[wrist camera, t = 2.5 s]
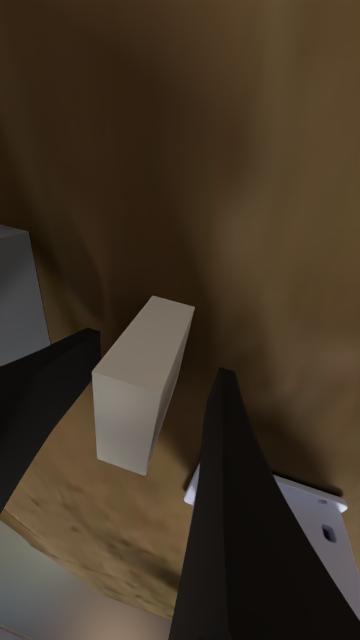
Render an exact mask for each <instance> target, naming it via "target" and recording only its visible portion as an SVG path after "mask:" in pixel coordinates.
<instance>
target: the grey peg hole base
mask: <svg viewBox="0 0 360 640" xmlns="http://www.w3.org/2000/svg"><path fill="white" fill-rule="evenodd" d="M47 346H50V340H49V335H48V329H47V324H46V319H45V314H44V309H43V304H42V299H41V293H40V288H39V283H38V278H37V273H36V268H35V263H34V257H33V252H32V247H31V242H30V237H29V232H28V231H24V230H20V229H16V228H12V227H9V226H5V225H1V224H0V366H3V365H5V364H8V363H10V362H13V361H15V360H17V359H20V358H22V357H25V356H27V355H29V354H32V353H34V352H36V351H39V350H41V349H43V348H45V347H47ZM61 419H62V418H61ZM58 423H59V422H58Z"/></svg>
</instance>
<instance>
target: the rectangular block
mask: <svg viewBox="0 0 360 640" xmlns="http://www.w3.org/2000/svg"><path fill="white" fill-rule="evenodd" d="M194 309H195V307H193V306H189V305H186V304H182V303H178V302H175V301H171V300H167V299H164V298H160V297H156V296H152V297H151V298H150V300H149V301H148V302H147V303H146V305H145V306H144V307H143V308H142V310H141V311H140V312H139V313H138V315H137V316H136V317H135V318H134V320H133V321H132V322H131V323H130V325H129V326H128V327H127V328H126V330H125V331H124V332H123V333H122V335H121V336H120V337H119V338H118V340H117V341H116V342H115V343H114V345H113V346H112V347H111V348H110V349H109V351H108V352H107V353H106V354H105V356H104V357H103V358H102V359H101V361H100V362H99V363H98V364H97V366H96V367H95V368H94V369H93V371H92V382H93V397H94V412H95V427H96V443H97V458H98V459H99V460H102V461H105V462H108V463H110V464H113V465H116V466H119V467H121V468H124V469H127V470H130V471H132V472H135V473H138V474H141V475H143V476H145V475H146V472H147V469H148V466H149V463H150V460H151V457H152V454H153V451H154V448H155V445H156V442H157V439H158V436H159V433H160V430H161V427H162V424H163V421H164V418H165V415H166V412H167V409H168V406H169V403H170V400H171V397H172V394H173V391H174V388H175V385H176V382H177V378H178V374H179V370H180V366H181V362H182V358H183V354H184V350H185V346H186V342H187V338H188V333H189V329H190V325H191V321H192V317H193V313H194Z"/></svg>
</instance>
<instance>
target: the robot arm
mask: <svg viewBox="0 0 360 640" xmlns="http://www.w3.org/2000/svg"><path fill="white" fill-rule="evenodd" d="M100 361H101V351H100V331H97V330H94V329H90V328H86V329H84V330H81V331H79V332H77V333H75V334H73V335H71V336H69V337H67V338H64V339H62V340H60V341H58V342H56V343H54V344H52V345H50V346H47V347H45V348H43V349H41V350H39V351H36V352H34V353H32V354H29V355H27V356H25V357H22V358H20V359H17V360H15V361H13V362H10V363H8V364H5V365H3V366H0V514H1V512H2V510H3V508H4V507H5V505H6V503H7V502H8V500H9V498H10V497H11V495H12V493H13V491H14V490H15V488H16V486H17V485H18V483H19V481H20V480H21V478H22V477H23V475H24V473H25V472H26V470H27V468H28V467H29V465H30V464H31V462H32V460H33V459H34V457H35V456H36V454H37V453H38V451H39V450H40V448H41V447H42V445H43V443H44V442H45V440H46V439H47V437H48V436H49V434H50V433H51V432H52V430H53V429H54V428H55V426H56V425H57V424H58V422H59V421H60V420H61V418H62V417H63V416H64V415H65V413H66V412H67V411H68V410H69V408H70V407H71V406H72V405H73V403H74V402H75V401H76V399H77V398H78V397H79V396H80V394H81V393H82V392H83V391H84V389H85V388H86V387H87V385H88V384H89V383H90V381H91V380H92V371H93V369H94V368H95V367H96V366H97V364H98V363H99V362H100ZM184 501H185V502H187V503H189V504H192V505H193V510H192V517H191V523H190V530H189V536H188V542H187V547H186V553H185V558H184V563H183V568H182V574H181V579H180V584H179V589H178V594H177V599H176V604H175V609H174V614H173V619H172V624H171V629H170V634H169V639H168V640H360V575H359V572H358V569H357V565H356V562H355V559H354V555H353V552H352V548H351V545H350V542H349V538H348V535H347V532H346V528H345V525H344V522H343V518H342V515H341V513H342V512H343V511H345V510H346V509H347V504H346V501H345V500H344V499H343V498H340V497H338V496H335V495H332V494H329V493H326V492H323V491H320V490H317V489H314V488H311V487H308V486H305V485H302V484H299V483H296V482H293V481H291V480H288V479H285V478H282V477H279V476H276V475H273V474H272V472H271V470H270V468H269V466H268V463H267V461H266V459H265V457H264V455H263V452H262V450H261V448H260V446H259V443H258V441H257V438H256V436H255V433H254V431H253V428H252V426H251V423H250V420H249V417H248V414H247V412H246V409H245V406H244V403H243V400H242V396H241V393H240V389H239V386H238V382H237V378H236V374H235V372H234V371H231V370H228V369H224V368H221V367H220V368H219V371H218V374H217V376H216V379H215V381H214V384H213V387H212V389H211V392H210V395H209V397H208V402H207V407H206V412H205V417H204V424H203V435H202V446H201V457H200V463H199V465H198V467H197V469H196V471H195V473H194V475H193V478H192V480H191V482H190V484H189V486H188V488H187V490H186V493H185V495H184ZM0 640H33V639H31V638H29V637H27V636H24V635H22V634H20V633H18V632H16V631H14V630H12V629H9V628H7V627H5V626H3V625H1V624H0Z"/></svg>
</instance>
